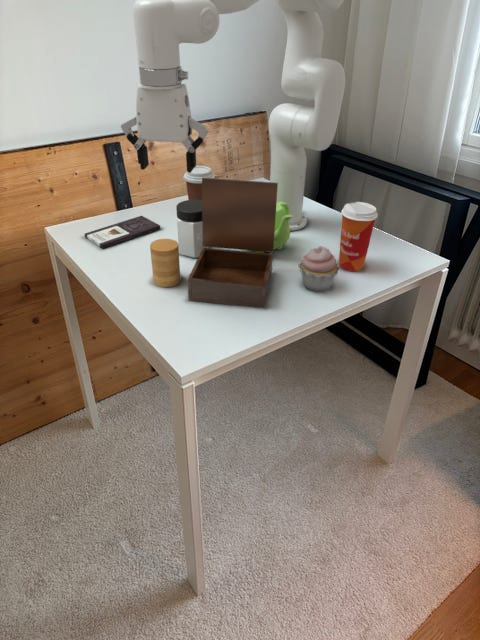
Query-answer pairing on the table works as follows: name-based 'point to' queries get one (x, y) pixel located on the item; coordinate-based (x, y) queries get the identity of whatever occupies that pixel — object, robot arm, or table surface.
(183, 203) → the jar
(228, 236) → the lid
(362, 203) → the coffee cup
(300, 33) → the robot arm
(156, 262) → the cookie stack
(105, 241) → the chocolate bar
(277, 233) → the teapot
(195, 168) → the coffee cup
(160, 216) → the table surface
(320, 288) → the cupcake
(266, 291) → the chest
